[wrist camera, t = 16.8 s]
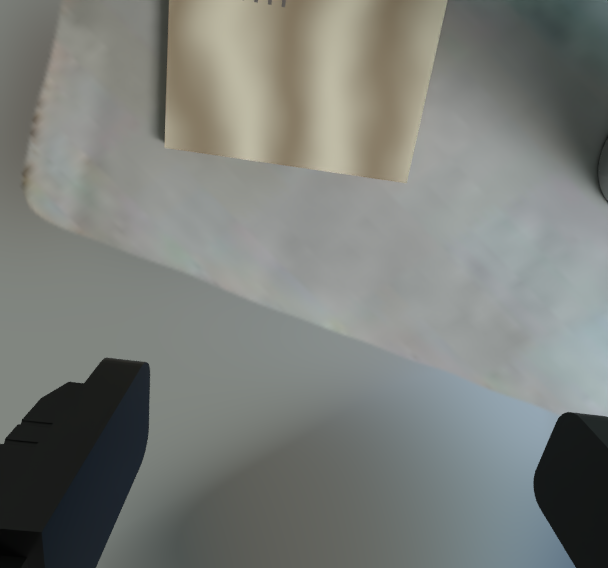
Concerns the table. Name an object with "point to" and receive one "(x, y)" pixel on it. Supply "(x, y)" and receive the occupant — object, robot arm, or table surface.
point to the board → (302, 81)
